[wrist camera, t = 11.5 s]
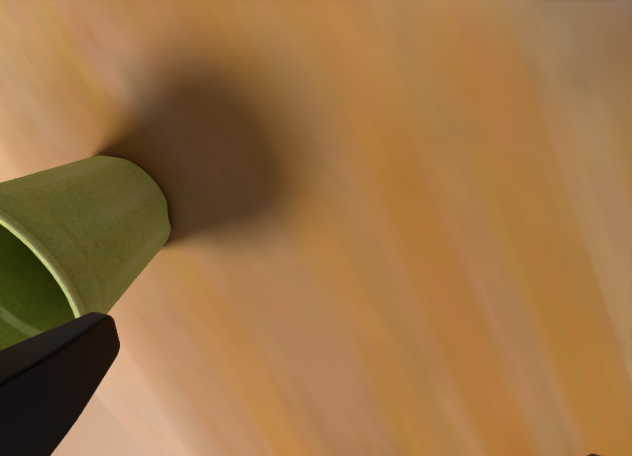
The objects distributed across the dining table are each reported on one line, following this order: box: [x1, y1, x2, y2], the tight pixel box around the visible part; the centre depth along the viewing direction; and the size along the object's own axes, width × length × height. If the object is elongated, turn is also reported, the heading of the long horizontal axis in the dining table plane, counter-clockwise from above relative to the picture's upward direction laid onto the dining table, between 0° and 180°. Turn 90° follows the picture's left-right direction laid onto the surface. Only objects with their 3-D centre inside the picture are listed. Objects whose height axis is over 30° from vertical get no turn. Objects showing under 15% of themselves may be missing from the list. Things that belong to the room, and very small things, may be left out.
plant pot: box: [0, 155, 171, 350], centre depth 22 cm, size 9×9×9 cm
